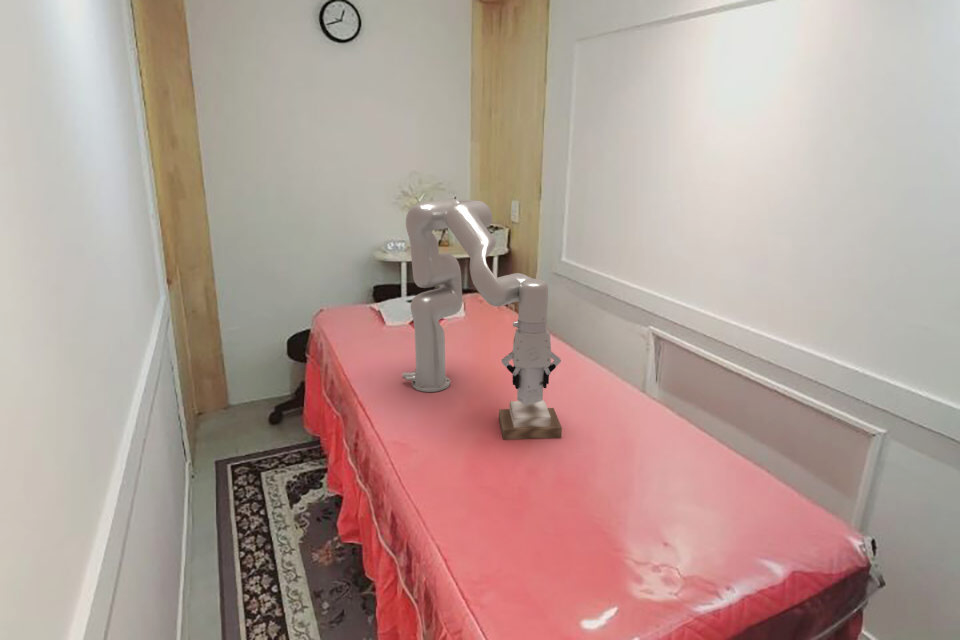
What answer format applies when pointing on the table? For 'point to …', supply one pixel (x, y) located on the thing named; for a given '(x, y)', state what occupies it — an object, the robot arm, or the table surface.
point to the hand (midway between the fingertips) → (530, 386)
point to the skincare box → (530, 385)
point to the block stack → (529, 421)
